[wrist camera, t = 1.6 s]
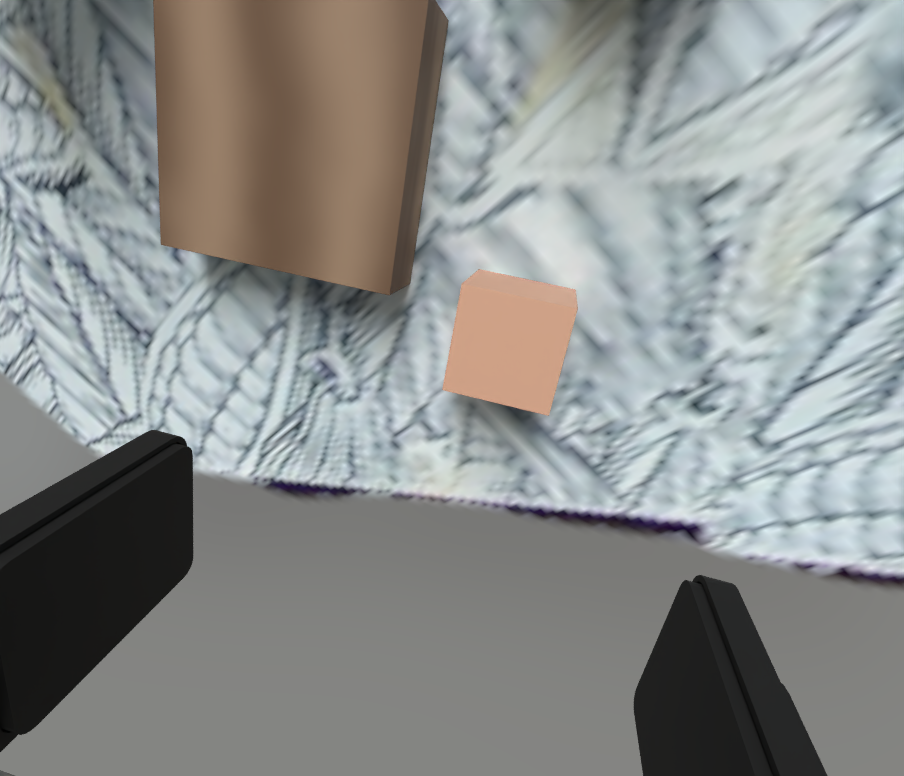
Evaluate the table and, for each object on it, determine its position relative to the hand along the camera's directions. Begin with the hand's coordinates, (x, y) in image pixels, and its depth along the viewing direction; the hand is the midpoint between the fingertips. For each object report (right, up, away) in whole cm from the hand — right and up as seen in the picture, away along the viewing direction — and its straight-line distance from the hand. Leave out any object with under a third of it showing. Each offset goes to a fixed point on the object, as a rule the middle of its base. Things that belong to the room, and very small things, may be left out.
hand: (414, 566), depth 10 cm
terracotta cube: (+4, +7, +18) cm, 20 cm away
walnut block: (-6, +16, +17) cm, 24 cm away
